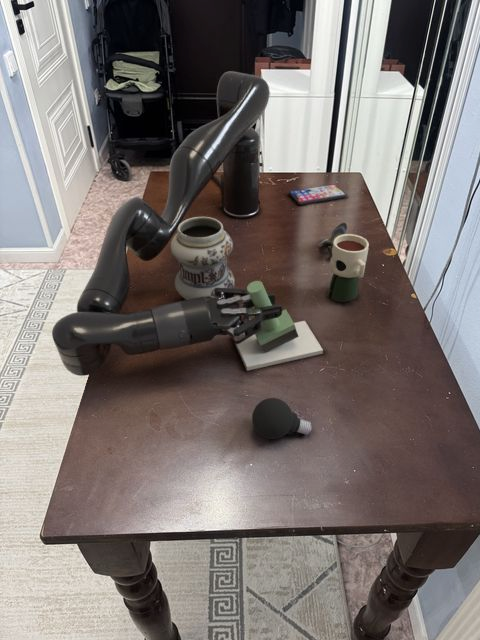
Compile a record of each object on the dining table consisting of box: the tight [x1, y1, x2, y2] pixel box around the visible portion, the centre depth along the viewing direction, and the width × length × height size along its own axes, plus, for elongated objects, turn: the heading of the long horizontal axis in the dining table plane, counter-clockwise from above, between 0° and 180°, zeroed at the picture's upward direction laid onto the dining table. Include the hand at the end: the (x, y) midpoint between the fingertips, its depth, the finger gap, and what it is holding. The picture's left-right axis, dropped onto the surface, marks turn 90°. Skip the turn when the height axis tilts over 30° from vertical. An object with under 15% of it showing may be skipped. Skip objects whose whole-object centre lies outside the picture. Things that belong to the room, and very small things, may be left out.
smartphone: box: [288, 183, 347, 206], centre depth 140 cm, size 8×1×15 cm
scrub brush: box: [246, 280, 299, 353], centre depth 88 cm, size 7×5×14 cm, turn 108°
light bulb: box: [251, 397, 312, 440], centre depth 78 cm, size 6×6×10 cm
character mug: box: [328, 233, 370, 303], centre depth 102 cm, size 11×7×13 cm, turn 23°
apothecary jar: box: [170, 216, 236, 301], centre depth 97 cm, size 12×12×18 cm
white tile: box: [232, 320, 324, 372], centre depth 94 cm, size 15×9×1 cm, turn 109°
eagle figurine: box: [317, 222, 348, 261], centre depth 117 cm, size 8×7×9 cm
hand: (277, 304), depth 87 cm, fingers closed on scrub brush, 3 cm apart
